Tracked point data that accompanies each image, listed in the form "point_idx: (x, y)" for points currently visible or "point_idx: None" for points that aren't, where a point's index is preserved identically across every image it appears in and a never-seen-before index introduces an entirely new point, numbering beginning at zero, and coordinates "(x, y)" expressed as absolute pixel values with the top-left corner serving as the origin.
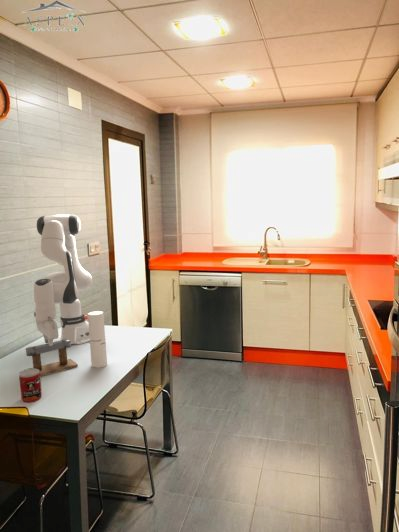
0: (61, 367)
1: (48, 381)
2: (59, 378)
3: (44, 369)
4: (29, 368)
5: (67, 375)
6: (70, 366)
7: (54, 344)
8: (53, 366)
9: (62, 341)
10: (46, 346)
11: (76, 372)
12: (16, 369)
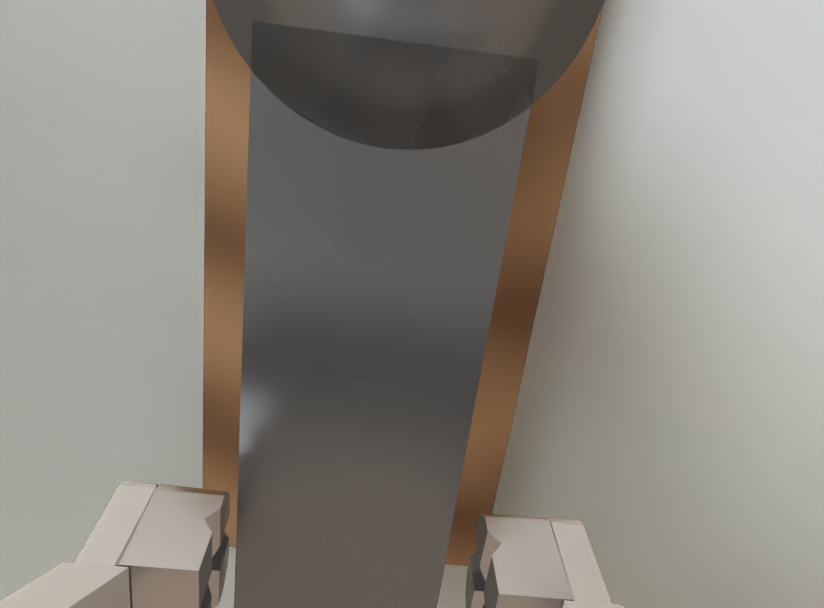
0: (527, 166)
1: (731, 440)
2: (773, 317)
3: None
4: (203, 483)
5: (785, 197)
6: (597, 24)
7: (470, 415)
8: None
9: (437, 114)
10: (434, 599)
11: (813, 39)
12: (38, 539)
